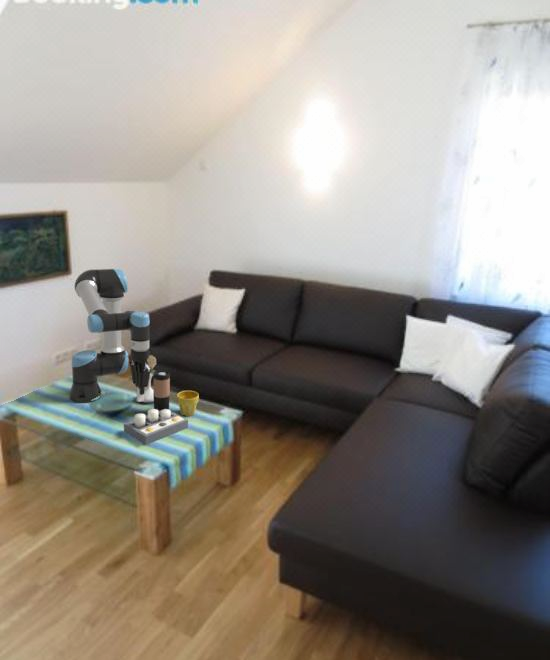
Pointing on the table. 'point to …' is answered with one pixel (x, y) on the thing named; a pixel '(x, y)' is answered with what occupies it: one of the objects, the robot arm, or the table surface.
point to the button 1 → (139, 420)
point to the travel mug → (161, 390)
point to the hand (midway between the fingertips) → (140, 400)
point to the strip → (162, 425)
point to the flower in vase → (148, 390)
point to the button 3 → (165, 413)
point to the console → (155, 435)
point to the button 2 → (152, 416)
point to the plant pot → (187, 402)
